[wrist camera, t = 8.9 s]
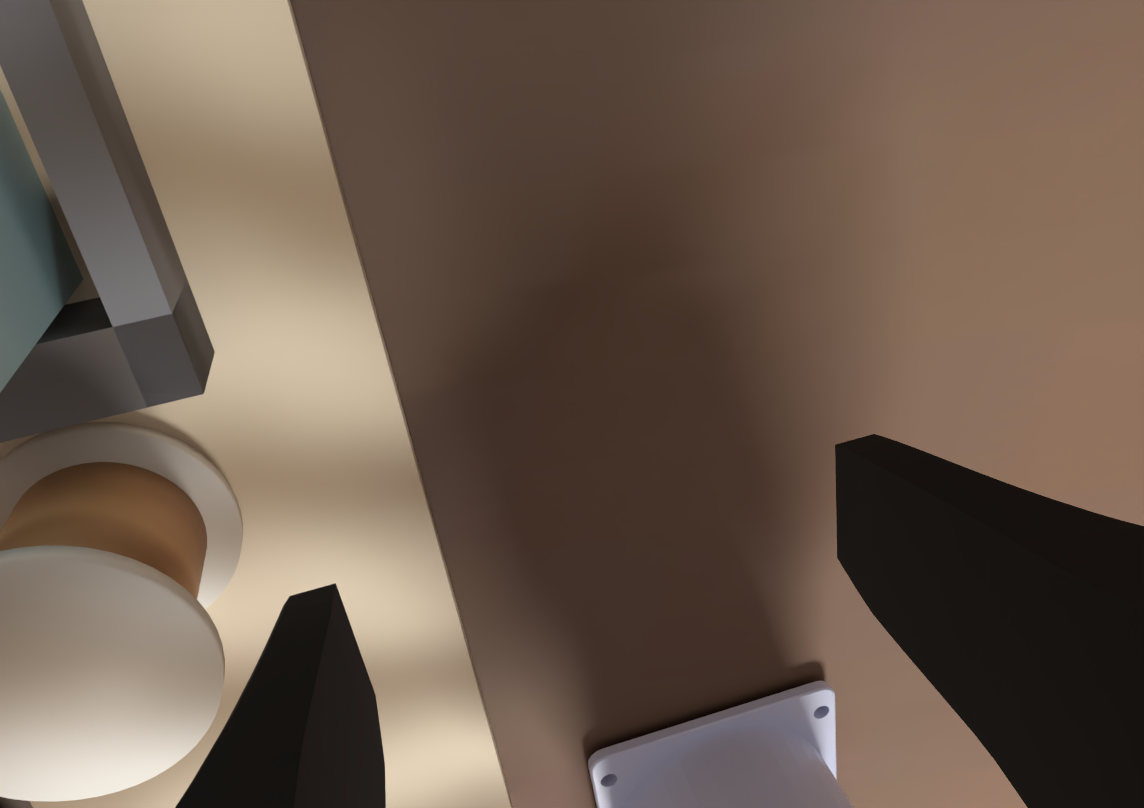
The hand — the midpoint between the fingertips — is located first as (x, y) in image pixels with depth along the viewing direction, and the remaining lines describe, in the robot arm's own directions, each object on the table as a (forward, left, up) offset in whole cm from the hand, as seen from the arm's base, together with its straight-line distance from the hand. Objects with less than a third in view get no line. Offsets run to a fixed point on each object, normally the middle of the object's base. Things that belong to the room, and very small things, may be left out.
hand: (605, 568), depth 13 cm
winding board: (-2, +8, -9) cm, 13 cm away
